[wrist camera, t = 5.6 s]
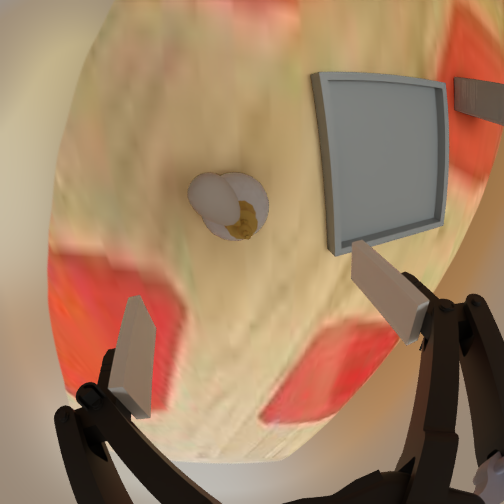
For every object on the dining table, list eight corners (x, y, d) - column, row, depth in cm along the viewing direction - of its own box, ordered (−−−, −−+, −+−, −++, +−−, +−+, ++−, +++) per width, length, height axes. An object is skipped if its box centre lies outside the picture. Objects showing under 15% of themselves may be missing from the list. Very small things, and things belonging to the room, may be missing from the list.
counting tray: (310, 74, 28) (319, 72, 25) (434, 82, 29) (445, 83, 27) (327, 248, 39) (335, 256, 37) (434, 219, 41) (443, 225, 39)
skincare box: (476, 86, 30) (544, 99, 16) (476, 122, 34) (543, 142, 20) (451, 75, 29) (527, 83, 15) (452, 113, 32) (528, 132, 19)
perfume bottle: (244, 234, 36) (266, 288, 25) (173, 206, 32) (163, 253, 22) (271, 182, 33) (308, 217, 23) (198, 149, 30) (199, 167, 19)
